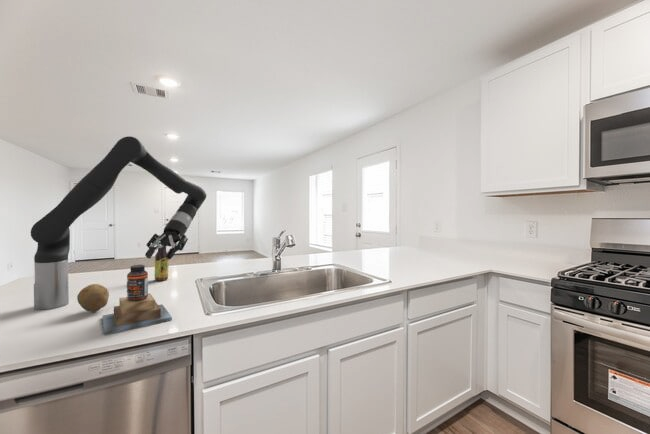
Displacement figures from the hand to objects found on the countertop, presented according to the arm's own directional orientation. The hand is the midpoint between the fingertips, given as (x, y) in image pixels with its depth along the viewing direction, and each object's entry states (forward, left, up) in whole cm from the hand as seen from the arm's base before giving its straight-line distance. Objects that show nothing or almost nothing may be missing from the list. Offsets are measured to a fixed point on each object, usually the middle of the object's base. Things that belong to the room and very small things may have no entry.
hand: (157, 257), depth 104 cm
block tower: (-7, -6, -19) cm, 22 cm away
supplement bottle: (-7, -6, -13) cm, 16 cm away
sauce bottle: (+10, +47, -20) cm, 52 cm away
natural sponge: (-18, +12, -20) cm, 29 cm away
